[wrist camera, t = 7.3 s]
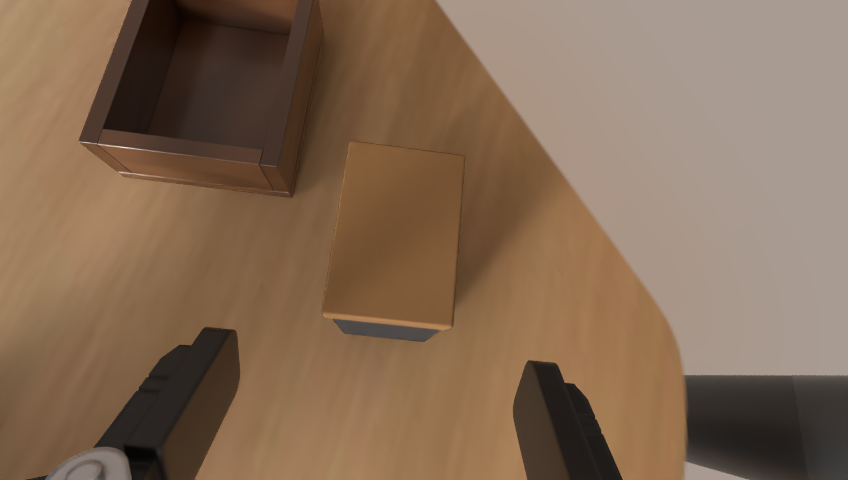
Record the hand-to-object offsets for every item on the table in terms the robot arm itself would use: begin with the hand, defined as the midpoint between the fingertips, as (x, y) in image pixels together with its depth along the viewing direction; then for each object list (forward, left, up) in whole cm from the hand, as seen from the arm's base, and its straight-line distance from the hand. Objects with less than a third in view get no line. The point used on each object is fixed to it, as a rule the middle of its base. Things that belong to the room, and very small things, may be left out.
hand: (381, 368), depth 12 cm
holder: (+10, -14, -9) cm, 19 cm away
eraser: (0, -5, -9) cm, 10 cm away
